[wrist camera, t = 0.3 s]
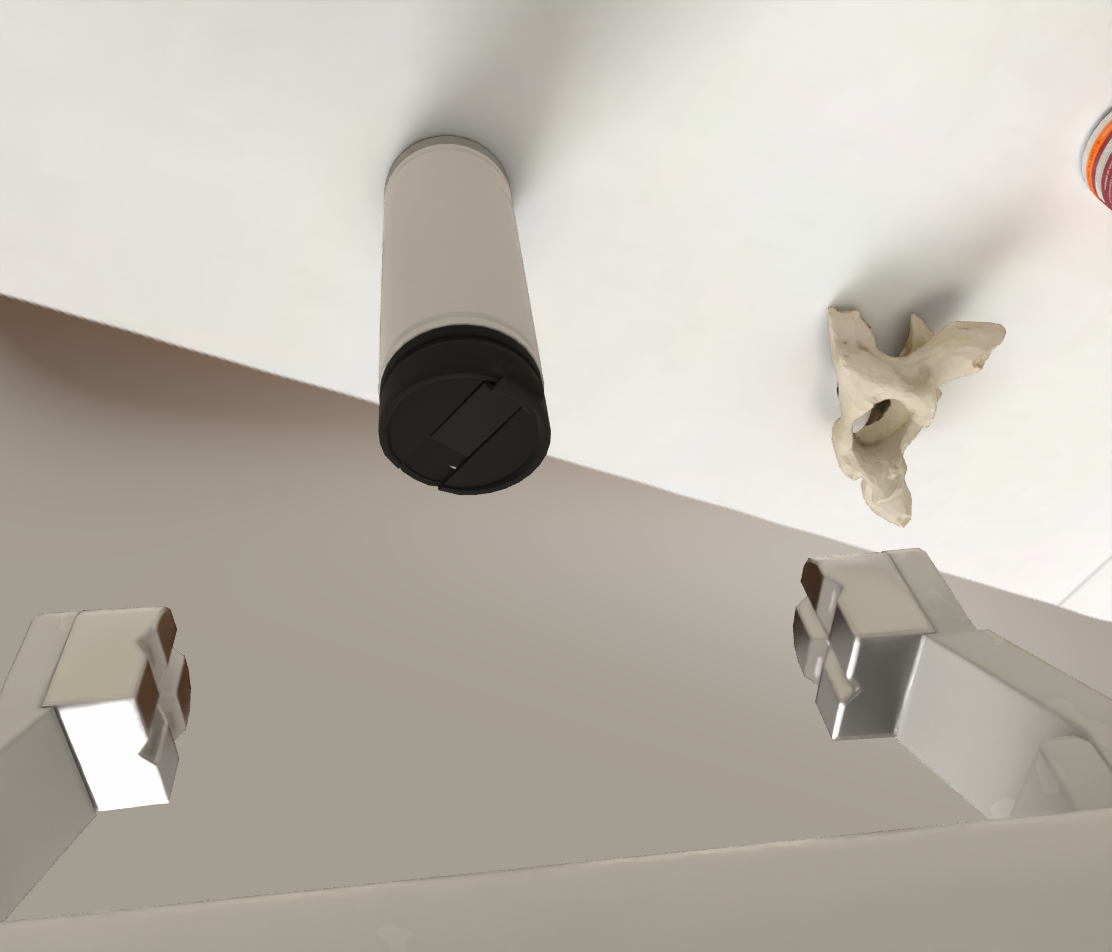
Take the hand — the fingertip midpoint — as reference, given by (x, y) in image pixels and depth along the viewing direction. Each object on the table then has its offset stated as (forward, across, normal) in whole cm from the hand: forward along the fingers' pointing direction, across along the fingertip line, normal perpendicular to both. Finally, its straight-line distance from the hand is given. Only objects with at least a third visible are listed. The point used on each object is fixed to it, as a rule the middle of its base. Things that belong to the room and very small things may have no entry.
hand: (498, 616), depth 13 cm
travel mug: (+40, 0, +9) cm, 41 cm away
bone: (+42, -26, +21) cm, 53 cm away
